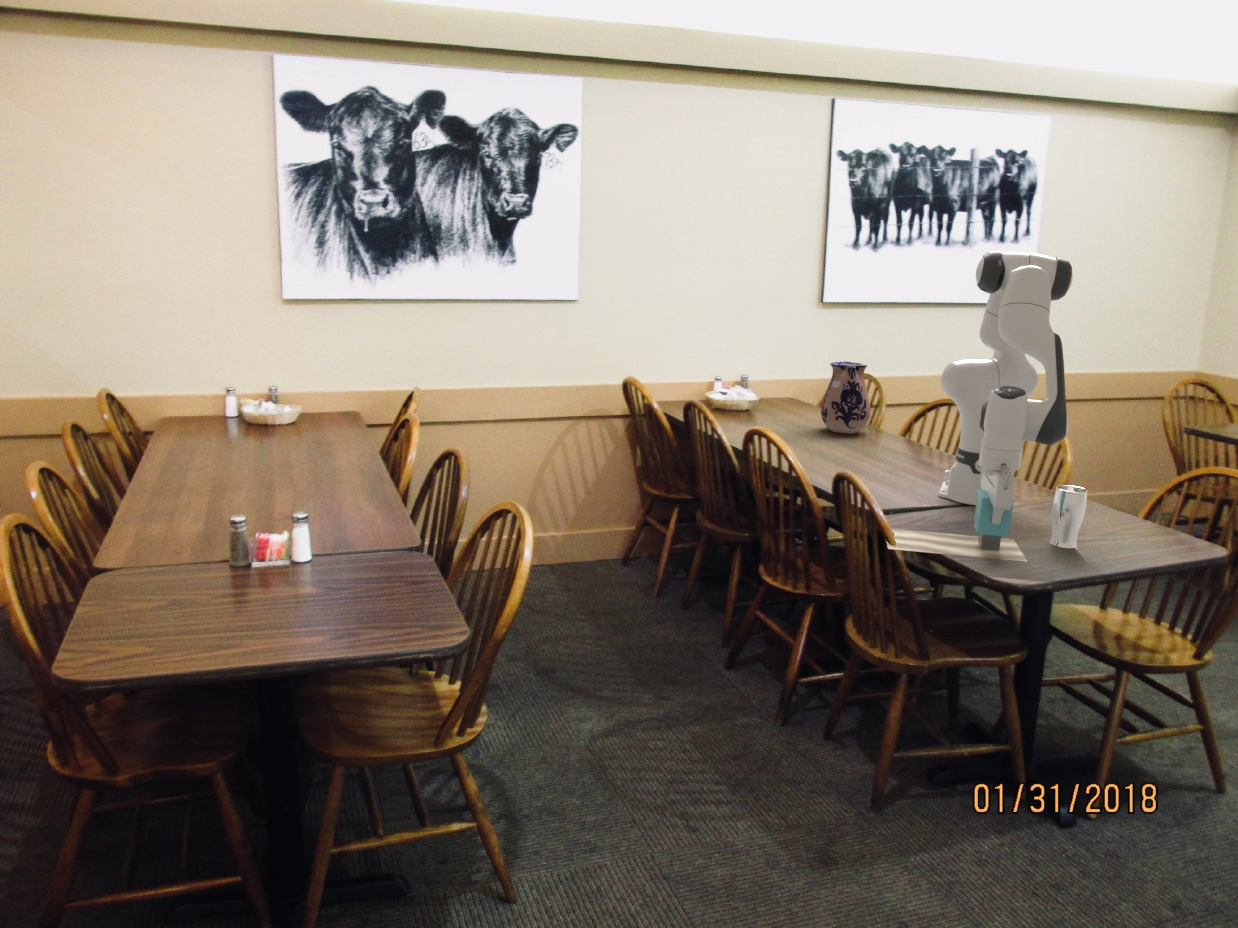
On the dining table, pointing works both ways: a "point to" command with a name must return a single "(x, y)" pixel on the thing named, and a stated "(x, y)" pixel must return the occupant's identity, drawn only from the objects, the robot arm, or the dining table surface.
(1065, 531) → the beer glass
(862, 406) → the ceramic pitcher
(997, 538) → the steel post
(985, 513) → the turquoise rectangular block
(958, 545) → the birch board
